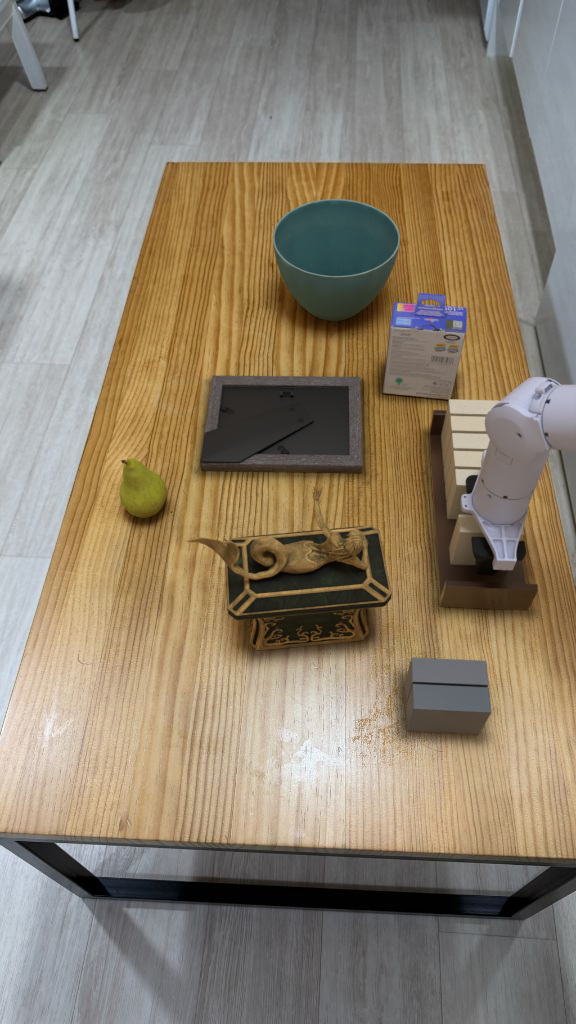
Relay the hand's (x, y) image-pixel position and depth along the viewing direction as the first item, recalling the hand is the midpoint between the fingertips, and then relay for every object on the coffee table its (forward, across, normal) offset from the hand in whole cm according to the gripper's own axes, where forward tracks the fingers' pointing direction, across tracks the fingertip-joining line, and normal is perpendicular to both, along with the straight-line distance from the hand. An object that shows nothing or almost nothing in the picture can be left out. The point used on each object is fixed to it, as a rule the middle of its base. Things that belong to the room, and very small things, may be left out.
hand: (483, 548), depth 87 cm
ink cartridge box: (+3, -29, -6) cm, 30 cm away
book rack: (+3, -7, 0) cm, 7 cm away
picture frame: (+3, -20, -25) cm, 32 cm away
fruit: (+3, -6, -41) cm, 42 cm away
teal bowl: (+3, -46, -18) cm, 50 cm away
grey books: (+3, +19, -6) cm, 20 cm away
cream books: (+2, -12, 0) cm, 12 cm away
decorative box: (+3, +8, -22) cm, 24 cm away
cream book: (+2, 0, 0) cm, 2 cm away
